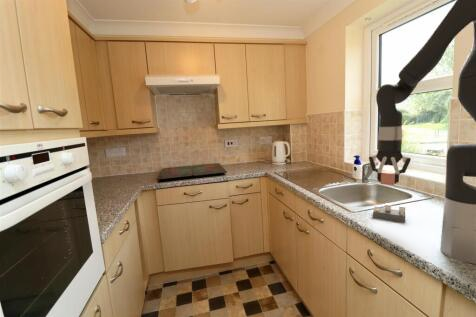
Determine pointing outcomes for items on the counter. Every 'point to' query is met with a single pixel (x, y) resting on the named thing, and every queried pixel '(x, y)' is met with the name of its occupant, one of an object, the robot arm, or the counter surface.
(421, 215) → the counter surface
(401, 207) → the breaker plain
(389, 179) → the pink cube
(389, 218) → the dark grey flat block
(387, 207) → the breaker tagged
